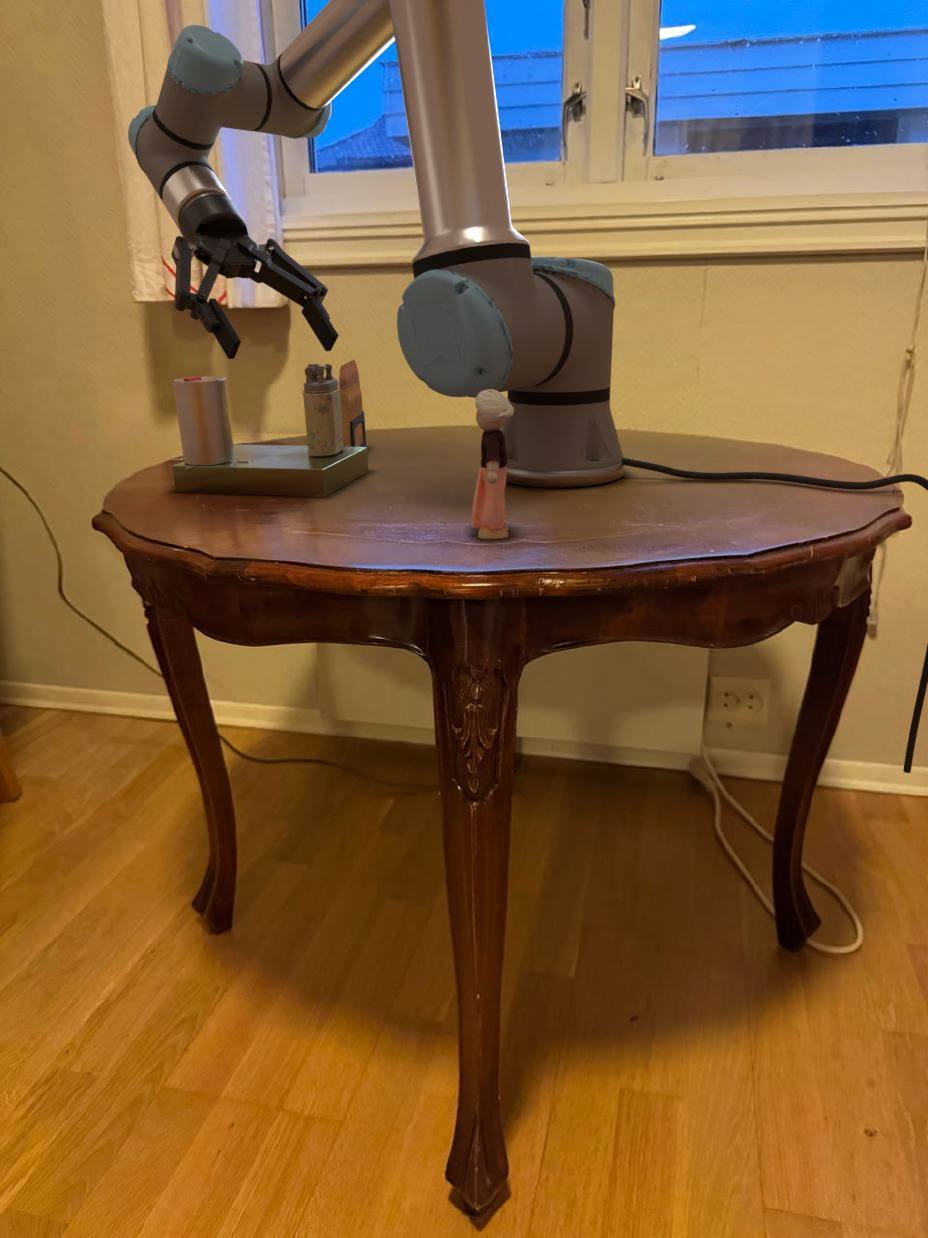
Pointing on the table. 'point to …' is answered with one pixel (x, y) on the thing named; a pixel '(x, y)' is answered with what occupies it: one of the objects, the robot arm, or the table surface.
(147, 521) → the table surface
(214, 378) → the grey metal cylinder
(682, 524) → the table surface
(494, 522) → the grandmother figurine
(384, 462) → the table surface
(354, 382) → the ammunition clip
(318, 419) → the lighter
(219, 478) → the panel
